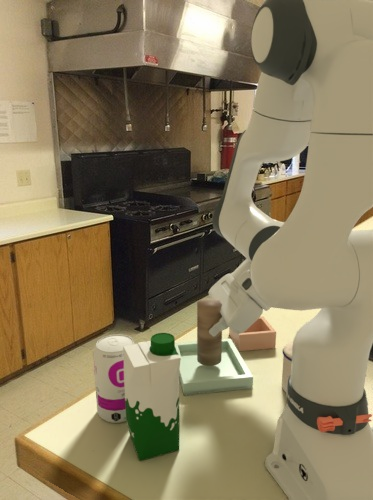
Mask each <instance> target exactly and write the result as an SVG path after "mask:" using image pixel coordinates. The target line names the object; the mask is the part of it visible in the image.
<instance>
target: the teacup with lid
mask: <svg viewBox="0 0 373 500" xmlns="http://www.w3.org/2000/svg"><path fill="white" fill-rule="evenodd" d="M292 349H293V341H290V342H287V343H286V344H285V345H284V346H283V348H282V355H283V356H282V357H283V358H282V359H283V360H282V373H281V374H282V376H281V388H282V390H283V391H284V392H285V393H286V388H287V384H288V378H289V376H290V375H291V365H292Z"/></svg>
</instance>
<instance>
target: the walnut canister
mask: <svg viewBox="0 0 373 500" xmlns="http://www.w3.org/2000/svg"><path fill="white" fill-rule="evenodd" d="M196 305H197V306H196V307H197V308H196V309H197V311H196V314H197V315H196V316H197V317H196V319H197V320H196V323H197V325H196V327H197V328H196V335H197V337H196V341H197V361H198V362H199V363H200V364H202V365H206V366H214V365H217V364H219V363H220V362H221V355H222V339H223V337H222V336H223V331H221V332H219V333H218V334H217V335H216V336H212V335H211V334H210V333H209V331H208V328H209V327H210V326H211V325H212V324H213V325H215V324H216V323H218V322H219V320H220V319H221V318H222V315H221V314H220V312H219V310H220V308H221V306H222V304H221V302H220V300H218V299H212V298H211V297H210V298H208V297H207V298H202V299H199V300H198V301H197V304H196Z"/></svg>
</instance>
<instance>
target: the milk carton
mask: <svg viewBox="0 0 373 500" xmlns="http://www.w3.org/2000/svg"><path fill="white" fill-rule="evenodd" d="M175 343H176V342H175V336H174V335H173V334H171V333H167V332H158V333H155V334H152V336H151V337H150V340H148V341H140V342H137V343H135V344H133V345H128V346H123V350H124V387H125V406H126V421H125V422H126V425H127V429H128V432H129V433H128V434H129V436H130V439H131V441H132V444H133V447H134V450H135V452H136V455H137V457H138V460H139V462H142V461H145V460H149V459H152V458H157V457H159V456H163V455H167V454H170V453H173V452H174V453H175V452H177V451H180V426H181V425H180V380H179V369H180V361H181V358H180V357H179V354H178V353H177V351H176V348H175Z"/></svg>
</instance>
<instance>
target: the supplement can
mask: <svg viewBox="0 0 373 500" xmlns="http://www.w3.org/2000/svg"><path fill="white" fill-rule="evenodd" d="M133 344H136V343H135V342H134V340H133V338H132V337H131V336H129V335H126V334H118V333H116V334H110V335H106V336H103V337H101V338H100V339H98V340H97V341H96V343H95V347H94V349H93V351H92V354H93V355H92V356H93V368H94V369H93V370H94V371H93V372H94V382H95V383H94V384H95V385H94V386H95V395H96V396H95V397H96V410H97V415H98V416H99V417H100V418H101V419H102V420H104V421H106V422H107V423H112V424H118V423H119V424H120V423H124V422H127V421H126V406H125V387H124V350H123V346H128V345H133Z"/></svg>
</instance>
